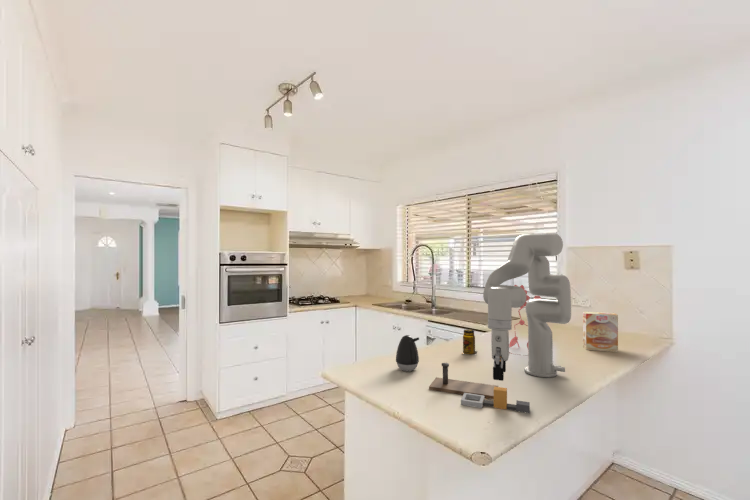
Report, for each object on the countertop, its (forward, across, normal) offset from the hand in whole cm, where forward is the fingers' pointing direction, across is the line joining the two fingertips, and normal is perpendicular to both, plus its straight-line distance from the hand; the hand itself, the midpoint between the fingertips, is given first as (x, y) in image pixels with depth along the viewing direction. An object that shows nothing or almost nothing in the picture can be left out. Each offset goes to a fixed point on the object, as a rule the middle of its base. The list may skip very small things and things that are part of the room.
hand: (499, 375), depth 120 cm
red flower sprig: (+9, +78, -3) cm, 78 cm away
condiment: (+10, +64, +20) cm, 67 cm away
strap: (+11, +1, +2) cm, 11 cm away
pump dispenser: (+10, +26, +41) cm, 49 cm away
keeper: (+10, +12, +14) cm, 21 cm away
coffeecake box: (+8, +98, -43) cm, 107 cm away
